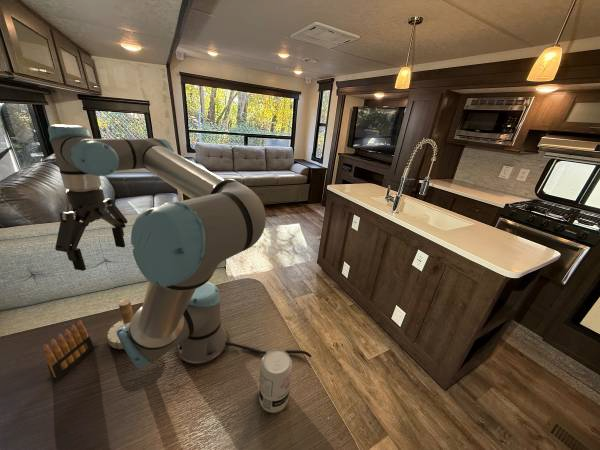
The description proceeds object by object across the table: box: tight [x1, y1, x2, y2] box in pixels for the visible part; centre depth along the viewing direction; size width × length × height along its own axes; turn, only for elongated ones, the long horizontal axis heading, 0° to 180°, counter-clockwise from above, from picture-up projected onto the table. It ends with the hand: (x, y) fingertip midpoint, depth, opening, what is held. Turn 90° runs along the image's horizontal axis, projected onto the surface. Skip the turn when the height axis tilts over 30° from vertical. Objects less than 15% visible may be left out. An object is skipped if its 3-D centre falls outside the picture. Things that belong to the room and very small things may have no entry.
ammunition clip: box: [43, 319, 95, 380], centre depth 70 cm, size 11×2×12 cm, turn 169°
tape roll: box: [107, 319, 125, 350], centre depth 81 cm, size 11×11×3 cm
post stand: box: [107, 298, 134, 346], centre depth 80 cm, size 9×9×14 cm
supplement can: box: [258, 348, 293, 414], centre depth 65 cm, size 8×8×15 cm
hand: (102, 257), depth 73 cm, fingers open, 13 cm apart
